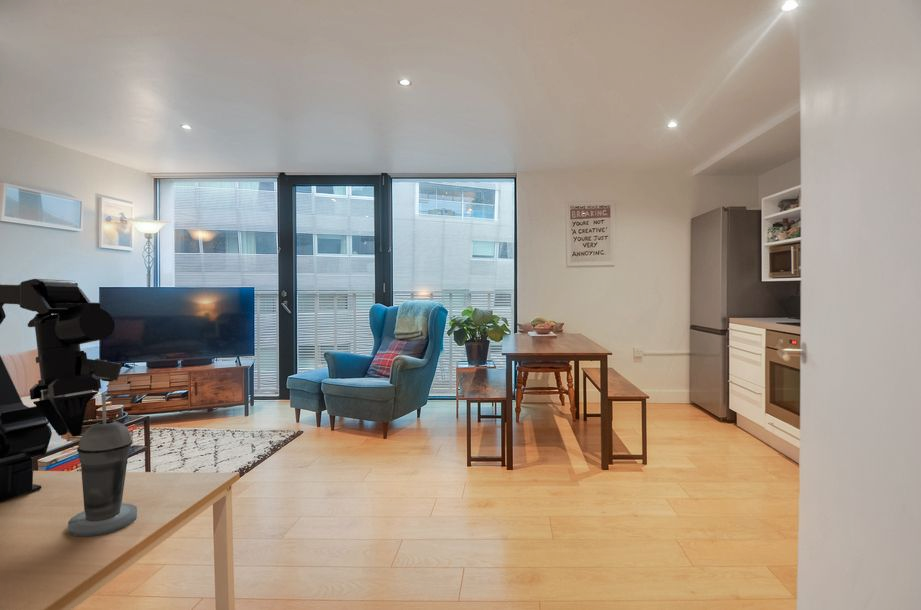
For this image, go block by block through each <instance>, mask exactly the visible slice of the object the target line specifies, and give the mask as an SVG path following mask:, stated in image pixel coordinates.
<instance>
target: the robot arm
mask: <svg viewBox="0 0 921 610" xmlns="http://www.w3.org/2000/svg"><path fill="white" fill-rule="evenodd" d="M78 285H79V284H78V282H77V281H75V280H69V279H68V280H64V279H48V278H47V279H45V278H32V279H28V280H23V281H21V282H20V283H19V284H1V283H0V325H1V324H2V323H3V321H4V320H5V318H6V316H7V315H6V313H5V310H4V307H3V306H4V305H19V308H21V309H24V310H27V311H31V312H36V314H35V316H34V317H33V318H31V320H29V322H28V323H27V327H28V328H34V329H35V330H34V331H35V340H36V349H37V356H36V357H35V363H36V364H38V366H39V375H40V379H39V380H38V382H37V383H35V384H34V385H33V386H32V387H31V388H30V389H29V396H30V397H29V399H30V401H31V400H33V404H34V406H27V405H25V404H24V403H23V401H22V400H23V399H21V396H20V394H19V392H18V390H17V388H16V386H15V384H14V382H13V379H12V377H11V375H10V373H9V371H8V368H7V367H6V364H5V362H4V360H3V358H2V356H1V355H0V503H3V502H5V501H9V500H12V499H14V498H17V497H20V496H24V495H27V494H29V493H32V492H33V493H34V492H35V491H39V490H41V489H42V487H43V486H42V485H39V484H34V483H33V482H34V458H36V457H41V456H45V455H46V454H47V451H48V448H49V444H50V441H51V438H52V433H53V432H52V429H53V430H54V431H55V432H56V434H57V436H60V437H62V436H65V435H67V433H68V432H69V433H70V435H71V437H77V436H81V435H82V431H83V425H84V421H85V415H86V410H87V406H88V403H89V402H90V401H91V400H92V399H93V398H95V396H96V395H98V393H99V390H100V389H102V385H101V384H102V383H101V381H102V382H114V381H116V382H117V381H119V377H120V373H121V371H122V367H123V364H122V363H119V362H114V361H113V362H111V361H108V360H107V359H100V358H96V359H93V358H88V357H87V352H85V351H84V350H81V345H83V344H88V343H92V342H98V341H102V340H106V339H108V338H109V337H110V336H111V335H112V334H113V332H114V331H115V326H116V323H115V320H114V319H113V316H112V315H111V314H110V313H109V312H108V311H106V310H105V309H102V307H101V302H99V301H91V300H90V299H89V297H88V296H87V295H86V294H85V293H84V291H83V290H82V289H81V288H80V287H79V286H78ZM98 389H99V390H98ZM95 390H98V391H95ZM38 399H39V400H38ZM51 427H52V429H51Z"/></svg>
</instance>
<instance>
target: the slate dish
mask: <svg viewBox="0 0 921 610" xmlns="http://www.w3.org/2000/svg"><path fill="white" fill-rule="evenodd" d="M137 517H138V507H137V506H136V505H134V504H130V503H123V502H122V503H121V507H120V513H119V514H118V515H116V516H115V517H112V518H110V519H106V520H102V521H87V520H86V515H85V510H83V511H81V512H78V513H77V514H75V515H74V516H72V517H71V518H70V519H69V520H68V522H67V533H68V534H69V535H70V534H71V535H70V536H74V537H80V538H86V537H95V536H101V535H105V534H110V533H113V532H116V531H118V530H121V529H124V528H126V527H127V526H129V525H131V524H132V523H133V522H135V521H136V519H137Z"/></svg>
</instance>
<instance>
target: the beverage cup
mask: <svg viewBox="0 0 921 610" xmlns="http://www.w3.org/2000/svg"><path fill="white" fill-rule="evenodd" d="M106 395H107V394H106V393H103V394H101V406H102V407H101V408H102V409H101V410H102V416H101V417H102V421H98V422H96V423H94V424H93V425H91V426H90V427H88V428H87V429H86V430H85V431H84V433H83V434H81V435H82V436H80V439H79V441H78V445H77V448H76V451H77V452H78V453H77V455H78V456H77V457H78V459H79V461H78V462H79V463H80V468H81V469H80V471H81V484H82V497H83V507H84V508H83V509H84V510H83V511H85V515H86V520H87V521H102V520H106V519H110V518H112V517H115V516H116V515H118V514H119V513H120V507H121V503H123V496H124V488H125V481H126V474H127V465H128V458H129V456H130V453H131V449H132V445H133V440H132V435H131V431H130V429H128V427H127V426H126V425H125V424H123V423H121V422H120V421H116V420H107V401H106V400H107V398H106Z"/></svg>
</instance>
